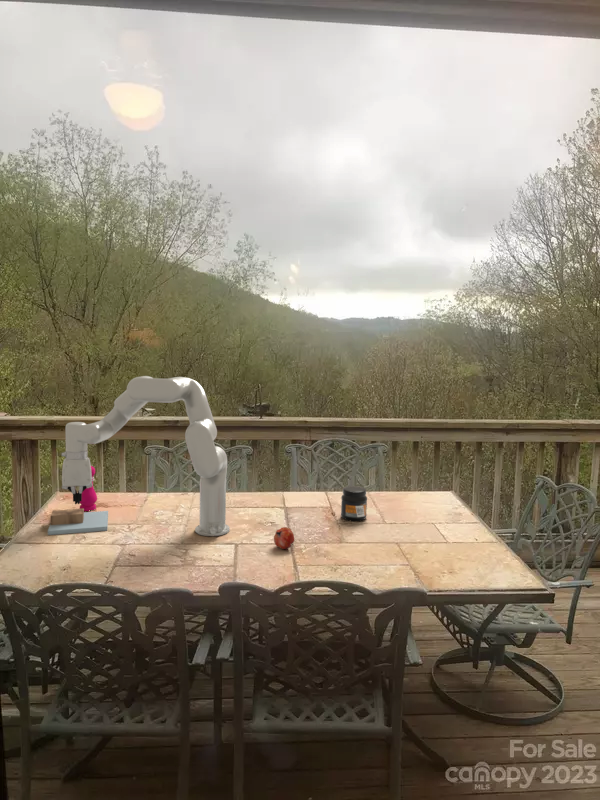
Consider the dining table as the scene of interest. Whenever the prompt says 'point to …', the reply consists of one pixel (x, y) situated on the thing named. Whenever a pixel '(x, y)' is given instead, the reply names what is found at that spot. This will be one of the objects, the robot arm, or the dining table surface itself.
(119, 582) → the dining table surface
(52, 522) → the walnut slab
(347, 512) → the supplement container
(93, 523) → the board
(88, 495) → the pepper mill
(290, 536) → the pomegranate
